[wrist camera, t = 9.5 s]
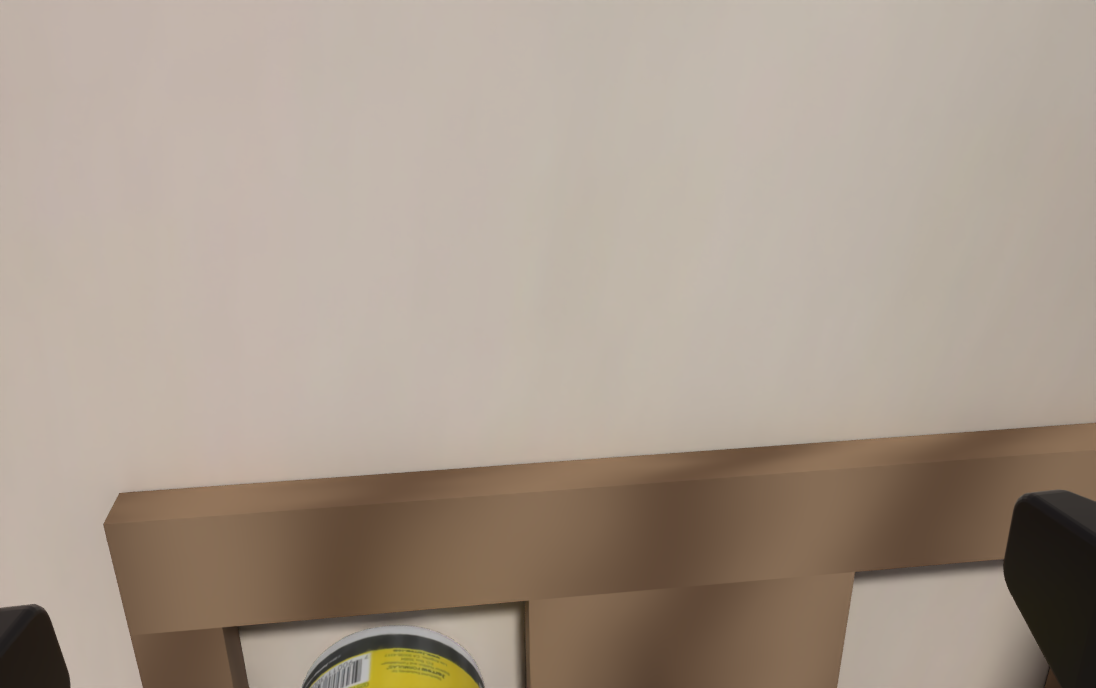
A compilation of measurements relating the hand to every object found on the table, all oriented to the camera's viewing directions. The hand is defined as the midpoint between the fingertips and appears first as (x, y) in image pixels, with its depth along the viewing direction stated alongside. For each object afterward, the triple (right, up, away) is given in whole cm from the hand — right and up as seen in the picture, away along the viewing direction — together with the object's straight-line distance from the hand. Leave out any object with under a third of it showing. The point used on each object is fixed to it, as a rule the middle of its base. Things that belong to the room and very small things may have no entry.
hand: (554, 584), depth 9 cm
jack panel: (+3, -6, +16) cm, 18 cm away
